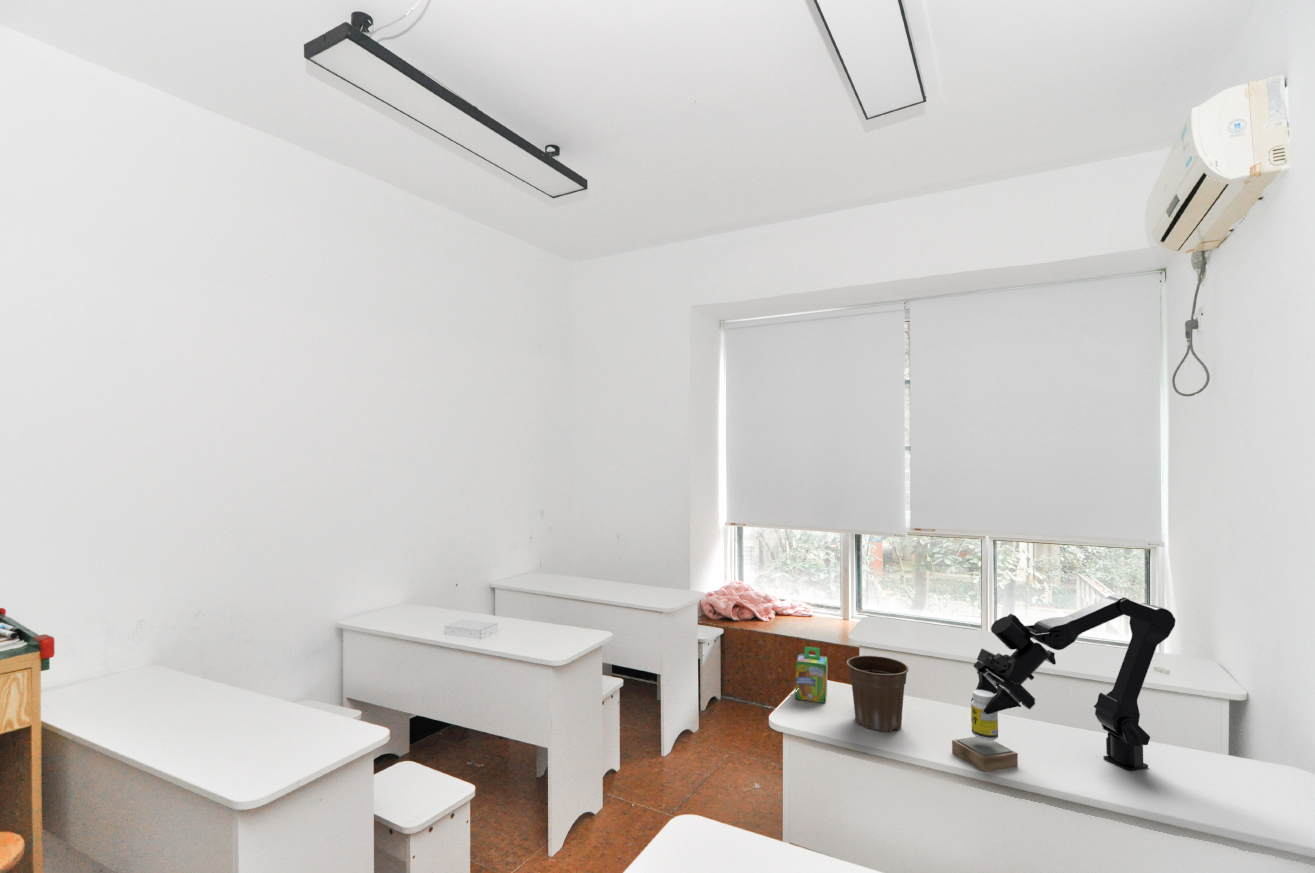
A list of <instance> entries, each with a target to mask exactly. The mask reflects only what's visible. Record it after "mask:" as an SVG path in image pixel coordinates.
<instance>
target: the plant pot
mask: <svg viewBox="0 0 1315 873" xmlns="http://www.w3.org/2000/svg"><path fill="white" fill-rule="evenodd" d="M846 665H847V667H848V672H849V678H850V679H851V681H850V682H851V689H852V691H851V692H852V698H853V699H852V700H853V708H854V718H855V722H856V723H857V725H858V726H859V725H862V726H863V727H864V728H865V729H869V730H872V731H876V732H892V731H894V730H896V731H897V730H899V729H901V728H902V724H903V723H902V721H903V710H904V709H903V707H904V697H905V696H904V694H905V686H906V683H907V673H908V672H909V666H908V665H907V664H906V663H904V662H902V661H900V660H898V659H894V658H890V657H885V656H877V655H858V656H857V655H856V656H853V657H849V658H848V659H847V660H846Z"/></svg>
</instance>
